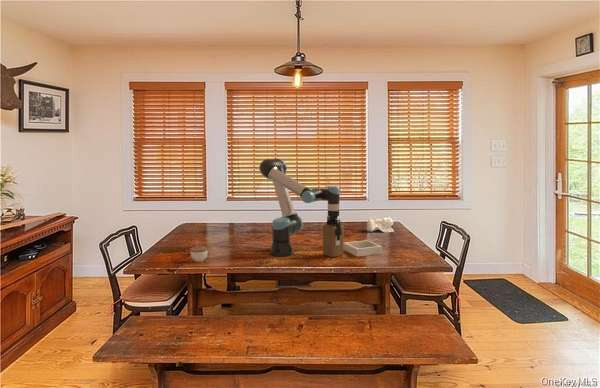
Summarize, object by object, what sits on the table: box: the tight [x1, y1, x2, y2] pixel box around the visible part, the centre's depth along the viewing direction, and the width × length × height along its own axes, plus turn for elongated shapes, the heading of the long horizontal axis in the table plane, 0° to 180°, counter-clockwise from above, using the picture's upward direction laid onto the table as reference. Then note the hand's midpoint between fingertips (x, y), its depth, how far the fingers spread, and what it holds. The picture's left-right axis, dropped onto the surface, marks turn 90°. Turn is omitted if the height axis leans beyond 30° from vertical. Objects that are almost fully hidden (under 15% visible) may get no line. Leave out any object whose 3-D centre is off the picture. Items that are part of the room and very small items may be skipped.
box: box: [343, 239, 383, 258], centre depth 271 cm, size 19×19×5 cm
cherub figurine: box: [367, 217, 395, 234], centre depth 337 cm, size 13×12×20 cm
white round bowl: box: [189, 245, 209, 263], centre depth 252 cm, size 11×11×9 cm
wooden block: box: [322, 224, 345, 258], centre depth 262 cm, size 10×10×20 cm
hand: (333, 243), depth 262 cm, fingers closed on wooden block, 11 cm apart
